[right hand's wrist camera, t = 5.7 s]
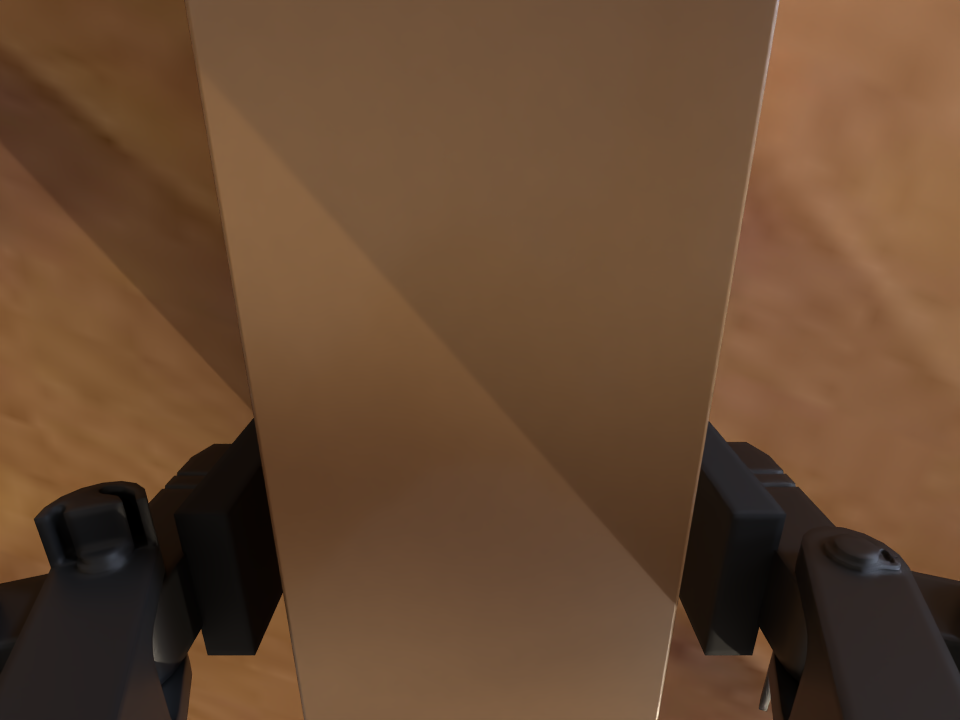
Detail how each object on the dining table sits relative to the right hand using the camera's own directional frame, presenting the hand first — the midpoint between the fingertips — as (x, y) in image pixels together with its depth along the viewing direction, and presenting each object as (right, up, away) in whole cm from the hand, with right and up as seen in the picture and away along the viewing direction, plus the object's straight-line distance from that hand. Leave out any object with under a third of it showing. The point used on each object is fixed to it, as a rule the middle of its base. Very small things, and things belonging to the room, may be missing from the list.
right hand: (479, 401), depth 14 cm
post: (0, +22, -8) cm, 23 cm away
